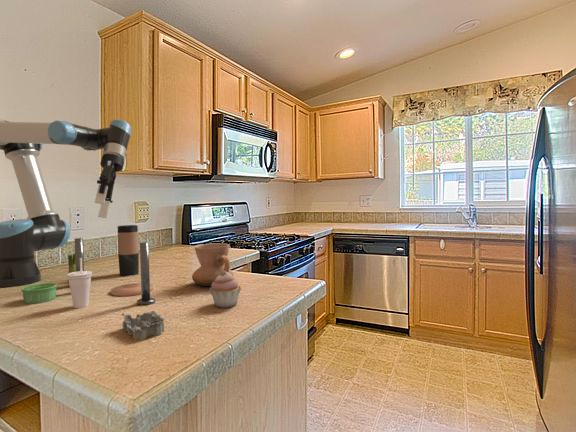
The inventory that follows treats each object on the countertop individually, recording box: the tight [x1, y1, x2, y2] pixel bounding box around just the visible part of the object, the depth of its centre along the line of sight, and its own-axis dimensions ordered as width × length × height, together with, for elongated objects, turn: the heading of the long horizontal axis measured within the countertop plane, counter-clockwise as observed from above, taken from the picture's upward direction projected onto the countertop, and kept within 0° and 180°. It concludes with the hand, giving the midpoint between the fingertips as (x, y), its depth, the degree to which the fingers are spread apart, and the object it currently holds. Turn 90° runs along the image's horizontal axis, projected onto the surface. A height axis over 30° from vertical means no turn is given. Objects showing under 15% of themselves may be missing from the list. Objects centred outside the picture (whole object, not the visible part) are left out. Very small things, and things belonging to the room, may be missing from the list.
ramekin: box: [21, 282, 58, 305], centre depth 107 cm, size 9×9×4 cm
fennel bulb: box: [67, 251, 76, 284], centre depth 124 cm, size 6×5×12 cm
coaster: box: [110, 282, 154, 297], centre depth 117 cm, size 13×13×1 cm
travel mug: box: [117, 224, 140, 277], centre depth 142 cm, size 8×8×20 cm
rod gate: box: [74, 237, 156, 306], centre depth 109 cm, size 35×5×18 cm, turn 65°
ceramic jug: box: [191, 242, 234, 287], centre depth 124 cm, size 18×14×14 cm
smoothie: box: [66, 258, 93, 309], centre depth 100 cm, size 6×6×14 cm
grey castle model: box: [121, 310, 166, 340], centre depth 81 cm, size 11×8×4 cm
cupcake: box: [208, 271, 242, 309], centre depth 100 cm, size 9×9×10 cm
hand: (100, 210), depth 120 cm, fingers open, 13 cm apart
